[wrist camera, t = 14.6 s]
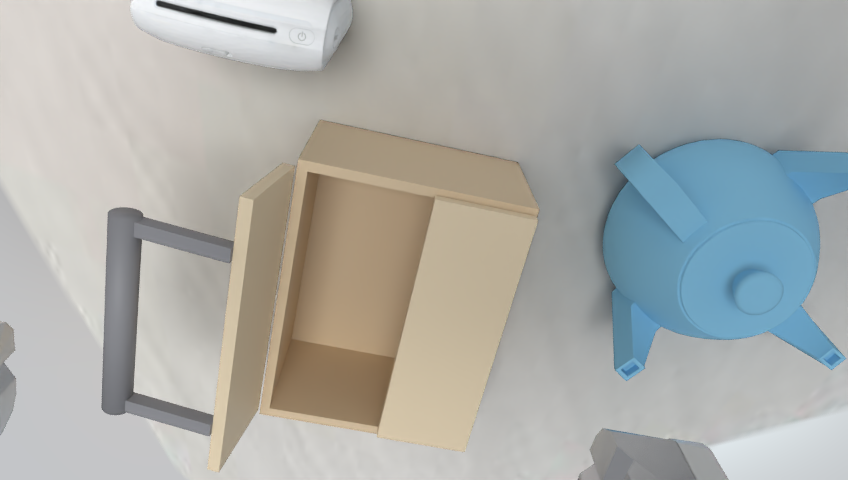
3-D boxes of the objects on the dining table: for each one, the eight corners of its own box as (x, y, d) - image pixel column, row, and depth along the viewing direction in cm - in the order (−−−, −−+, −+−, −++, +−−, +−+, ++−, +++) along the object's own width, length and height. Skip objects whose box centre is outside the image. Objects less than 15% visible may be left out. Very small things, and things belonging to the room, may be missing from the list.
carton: (517, 162, 47) (541, 214, 38) (456, 371, 54) (464, 456, 45) (319, 119, 45) (295, 163, 36) (284, 339, 52) (256, 421, 43)
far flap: (247, 204, 31) (102, 165, 31) (213, 481, 38) (94, 446, 38) (295, 165, 37) (172, 133, 37) (258, 409, 44) (155, 380, 44)
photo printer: (360, -17, 42) (340, -1, 30) (348, 52, 43) (324, 90, 32) (195, -58, 41) (110, -57, 29) (189, 14, 42) (106, 40, 31)
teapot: (819, 116, 46) (930, 164, 36) (781, 307, 52) (867, 393, 42) (596, 127, 46) (645, 178, 36) (585, 316, 52) (624, 404, 42)
